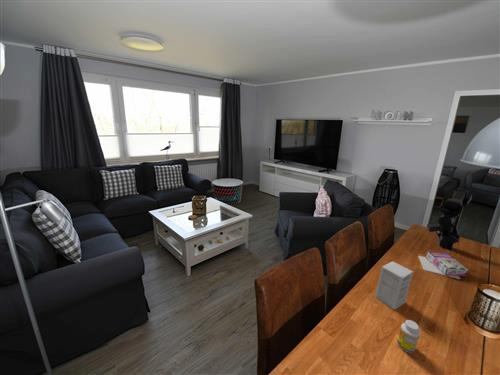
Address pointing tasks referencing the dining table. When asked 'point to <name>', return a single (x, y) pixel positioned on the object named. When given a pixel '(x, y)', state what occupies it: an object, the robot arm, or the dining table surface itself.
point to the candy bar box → (446, 264)
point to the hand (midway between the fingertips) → (440, 246)
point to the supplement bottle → (408, 336)
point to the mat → (432, 267)
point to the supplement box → (393, 284)
